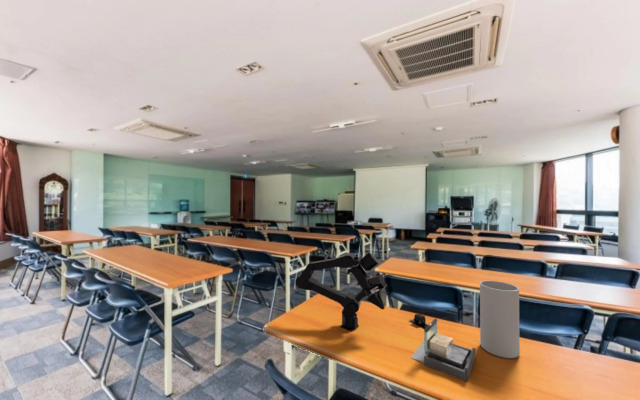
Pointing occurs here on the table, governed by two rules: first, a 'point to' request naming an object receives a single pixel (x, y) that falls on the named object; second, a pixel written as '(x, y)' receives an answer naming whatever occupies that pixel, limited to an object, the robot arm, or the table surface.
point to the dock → (445, 366)
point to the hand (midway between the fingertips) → (383, 308)
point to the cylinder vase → (499, 318)
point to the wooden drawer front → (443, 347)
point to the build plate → (419, 321)
